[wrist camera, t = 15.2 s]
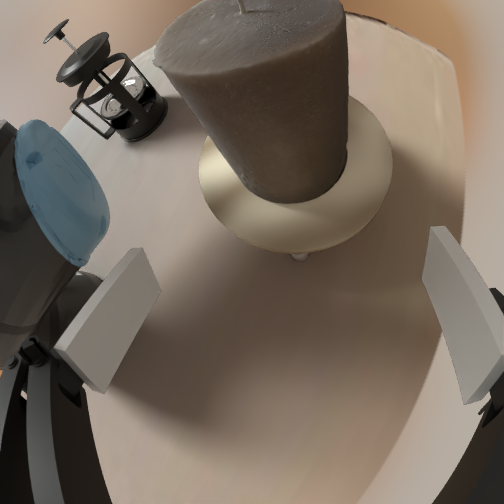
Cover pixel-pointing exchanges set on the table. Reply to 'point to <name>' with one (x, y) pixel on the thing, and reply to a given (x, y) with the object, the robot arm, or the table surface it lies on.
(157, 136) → the table surface
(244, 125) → the pillar candle
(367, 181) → the beige round legged stand
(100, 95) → the french press
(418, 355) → the table surface
